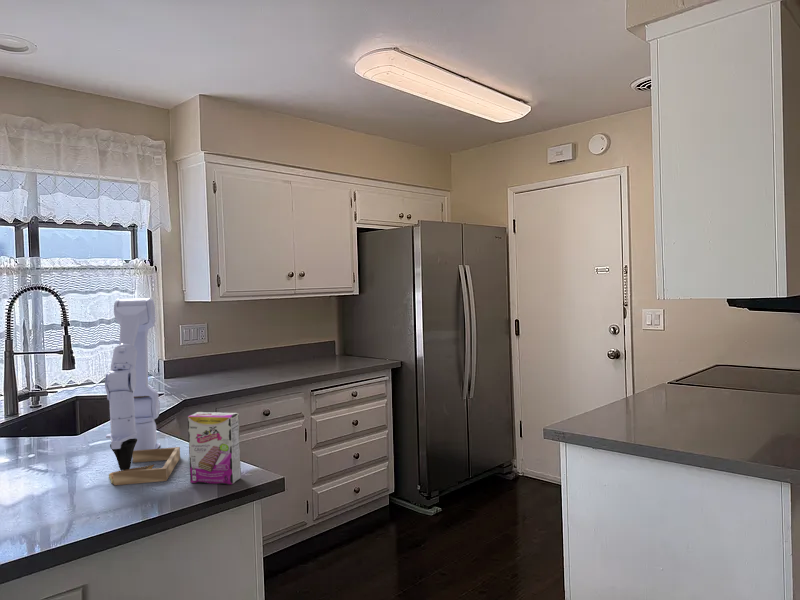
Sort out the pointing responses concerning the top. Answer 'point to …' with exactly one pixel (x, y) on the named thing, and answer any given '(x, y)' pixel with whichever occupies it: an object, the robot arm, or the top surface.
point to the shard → (129, 470)
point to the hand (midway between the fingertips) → (125, 469)
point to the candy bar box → (214, 447)
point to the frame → (149, 474)
